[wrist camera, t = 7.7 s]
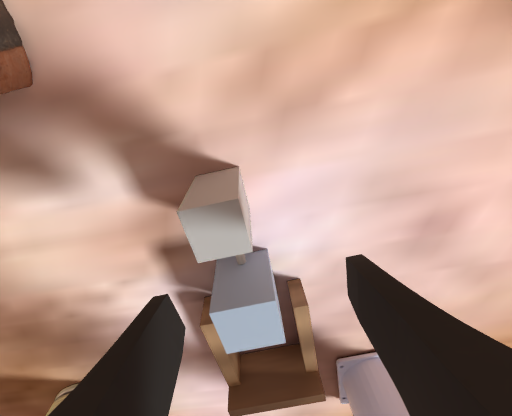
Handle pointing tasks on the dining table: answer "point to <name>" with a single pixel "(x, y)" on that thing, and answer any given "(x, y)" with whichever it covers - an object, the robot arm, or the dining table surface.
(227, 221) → the tethered block
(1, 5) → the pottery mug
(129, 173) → the dining table surface
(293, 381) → the walnut lane
